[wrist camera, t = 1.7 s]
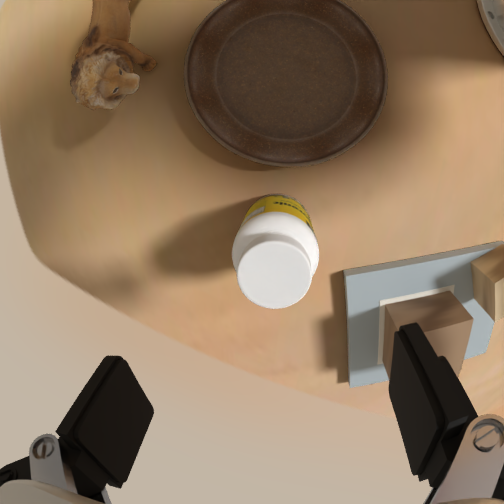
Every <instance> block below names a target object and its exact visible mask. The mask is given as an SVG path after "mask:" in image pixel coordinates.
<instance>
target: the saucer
mask: <svg viewBox="0 0 504 504" xmlns="http://www.w3.org/2000/svg"><path fill="white" fill-rule="evenodd" d="M184 83H185V90H186V94H187V98H188V101H189V103H190V106H191V108H192V110H193V112H194V114H195V116H196V117H197V119H198V121H199V122H200V123H201V125H202V126H203V127H204V129H205V130H206V131H207V132H208V133H209V134H210V135H211V136H212V137H213V138H214V139H215V140H216V141H217V142H218V143H220V144H221V145H222V146H224V147H225V148H226V149H228V150H230V151H231V152H233V153H235V154H237V155H239V156H241V157H243V158H246V159H249V160H251V161H254V162H257V163H261V164H265V165H271V166H278V167H302V166H309V165H314V164H318V163H322V162H325V161H328V160H330V159H332V158H335V157H337V156H339V155H341V154H342V153H344V152H346V151H347V150H349V149H350V148H352V147H353V146H354V145H356V144H357V143H358V142H360V140H362V139H363V138H364V137H365V136H366V135H367V133H368V132H369V131H370V130H371V128H372V127H373V126H374V124H375V123H376V121H377V119H378V117H379V115H380V113H381V111H382V108H383V106H384V102H385V99H386V94H387V87H388V86H387V85H388V73H387V65H386V60H385V57H384V53H383V51H382V48H381V46H380V43H379V41H378V39H377V38H376V36H375V34H374V33H373V31H372V30H371V28H370V27H369V26H368V24H367V23H366V22H365V21H364V20H363V19H362V18H361V17H360V15H358V14H357V13H356V12H355V11H354V10H353V9H352V8H350V7H349V6H347V5H346V4H345V3H343V2H341V1H340V0H226V1H224V2H223V3H222V4H220V5H219V6H218V7H216V8H215V9H214V10H213V11H212V12H211V13H210V14H209V15H208V16H207V17H206V18H205V19H204V20H203V22H202V23H201V24H200V25H199V27H198V28H197V30H196V31H195V33H194V35H193V37H192V39H191V41H190V44H189V46H188V50H187V53H186V57H185V63H184Z"/></svg>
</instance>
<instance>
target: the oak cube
mask: <svg viewBox="0 0 504 504" xmlns="http://www.w3.org/2000/svg"><path fill="white" fill-rule="evenodd" d="M470 264H471V272H472V281H473V293H474V299H475V300H476V301H477V303H478V304H479V305H480V306H481V307H482V308H483V309H484V310H485V311H486V313H487V314H488V315H489V316H490V317H491V318H492V320H493V321H494V322H497V321H498V320H500V319H502V318H503V317H504V244H501V245H499V246H498V247H496V248H494V249H492V250H491V251H489V252H487V253H485V254H484V255H482V256H480V257H478V258H476V259H474V260H473V261H471V262H470Z"/></svg>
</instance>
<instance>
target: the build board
mask: <svg viewBox="0 0 504 504" xmlns="http://www.w3.org/2000/svg"><path fill="white" fill-rule="evenodd" d="M501 244H504V242H503V241H498V242H493V243H488V244H483V245H478V246H474V247H469V248H464V249H459V250H453V251H448V252H443V253H438V254H433V255H427V256H422V257H416V258H411V259H405V260H400V261H394V262H388V263H383V264H377V265H371V266H365V267H359V268H353V269H347V270H343V271H344V284H345V298H346V315H347V337H348V381H349V386H350V388H352V387H358V386H363V385H369V384H374V383H379V382H383V381H388V380H389V378H388V375H387V372H386V370H385V367H384V364H383V361H382V358H383V343H384V322H385V304H390V303H395V302H400V301H405V300H410V299H414V298H419V297H424V296H428V295H433V294H437V293H441V292H446V291H451V292H452V293H453V295H454V296H455V297H456V298H457V299H458V300H459V302H460V303H461V304H462V305H463V306H464V308H465V309H466V310H467V311H468V312H469V314H470V315H471V316H472V317H473V319H474V320H473V325H472V329H471V333H470V337H469V342H468V345H467V349H466V353H465V357H464V360H465V359H468V358H471V357H474V356H477V355H480V354H482V353H485V352H486V350H487V347H488V344H489V340H490V337H491V333H492V329H493V325H494V321H493V320H492V318H491V317H490V316H489V315H488V314H487V313H486V311H485V310H484V309H483V308H482V307H481V306H480V305H479V304H478V303H477V301H476V300H475V299H474V293H473V281H472V272H471V264H470V262H471V261H473V260H474V259H476V258H478V257H480V256H482V255H484V254H485V253H487V252H489V251H491V250H492V249H494V248H496V247H498V246H499V245H501Z"/></svg>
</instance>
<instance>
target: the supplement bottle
mask: <svg viewBox="0 0 504 504" xmlns="http://www.w3.org/2000/svg"><path fill="white" fill-rule="evenodd" d="M232 261H233V265H234V268H235V271H236V273H237V281H238V284H239V287H240V289H241V291H242V292H243V294H244V295H245V296H246V297H247V298H248V299H249V300H250V301H252V302H253V303H255V304H257V305H259V306H262V307H265V308H271V309H279V308H285V307H288V306H290V305H293V304H295V303H296V302H298V301H299V300H300V299H301V298H302V297H303V296H304V295H305V294H306V292H307V291H308V289H309V287H310V284H311V280H312V276H313V275H314V273H315V271H316V268H317V265H318V261H319V248H318V243H317V239H316V236H315V233H314V230H313V227H312V223H311V220H310V217H309V215H308V213H307V211H306V209H305V208H304V206H303V205H302V204H301V203H300V202H299V201H297V200H296V199H294V198H292V197H290V196H287V195H283V194H271V195H267V196H265V197H262V198H260V199H259V200H257V201H256V202H255V203H254V204H253V205H252V206H251V207H250V209H249V210H248V212H247V214H246V216H245V218H244V220H243V222H242V224H241V226H240V229H239V231H238V233H237V235H236V237H235V240H234V244H233V248H232Z"/></svg>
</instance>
